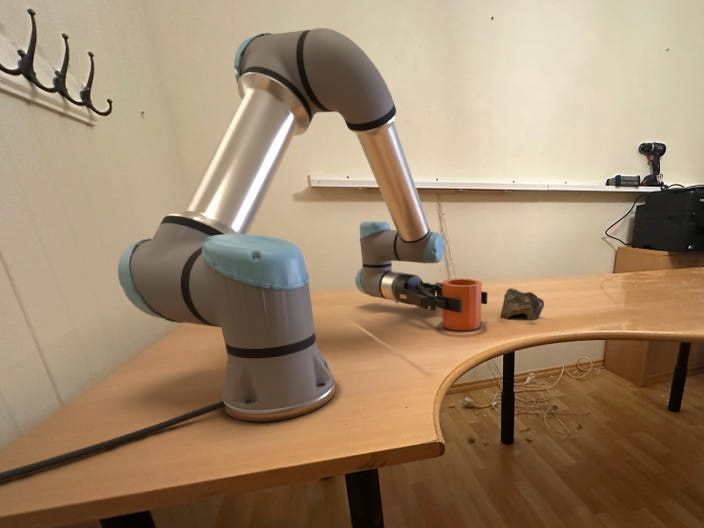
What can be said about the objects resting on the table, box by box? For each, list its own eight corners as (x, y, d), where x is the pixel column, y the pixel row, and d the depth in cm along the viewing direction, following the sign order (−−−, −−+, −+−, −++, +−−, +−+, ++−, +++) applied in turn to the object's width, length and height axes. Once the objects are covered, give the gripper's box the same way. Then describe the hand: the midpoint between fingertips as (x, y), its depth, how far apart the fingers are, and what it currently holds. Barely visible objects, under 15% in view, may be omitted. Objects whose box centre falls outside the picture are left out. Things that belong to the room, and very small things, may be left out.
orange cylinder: (456, 332, 89) (456, 288, 85) (436, 322, 95) (435, 280, 92) (487, 326, 94) (489, 283, 90) (466, 317, 100) (467, 277, 96)
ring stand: (454, 339, 88) (454, 298, 84) (429, 326, 96) (428, 289, 93) (494, 331, 94) (495, 293, 90) (467, 319, 102) (468, 284, 99)
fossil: (541, 311, 108) (546, 282, 101) (541, 335, 103) (546, 306, 95) (501, 308, 109) (503, 279, 101) (499, 332, 103) (501, 303, 96)
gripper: (432, 295, 112) (499, 308, 100) (371, 310, 96) (442, 329, 84) (432, 268, 109) (501, 278, 97) (368, 279, 93) (441, 293, 81)
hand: (474, 302), depth 90 cm, fingers closed on orange cylinder, 9 cm apart
